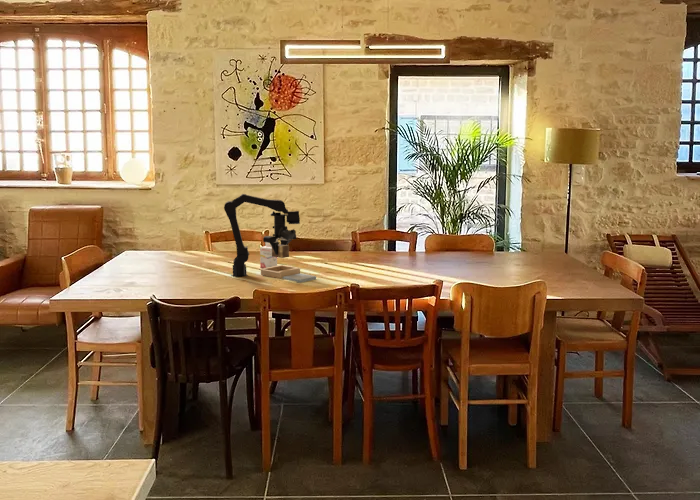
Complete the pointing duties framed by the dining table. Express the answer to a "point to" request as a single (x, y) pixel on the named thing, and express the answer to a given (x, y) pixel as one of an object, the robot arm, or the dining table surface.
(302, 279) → the trivet
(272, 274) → the beige shallow square tray
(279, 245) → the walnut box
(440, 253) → the dining table surface
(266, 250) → the ink cartridge box
